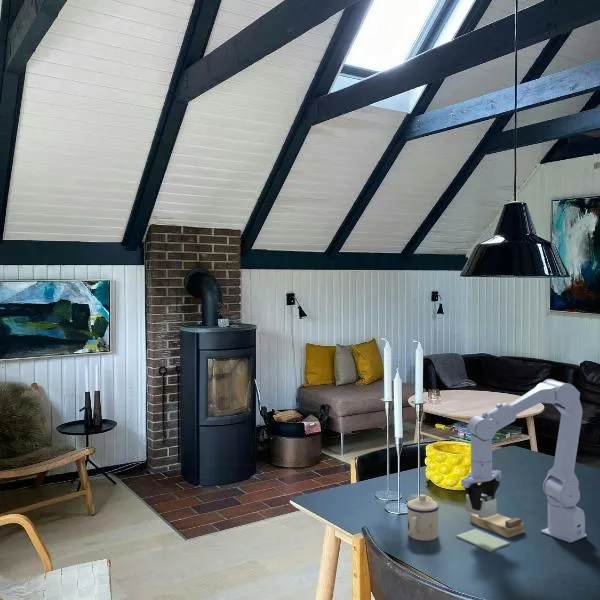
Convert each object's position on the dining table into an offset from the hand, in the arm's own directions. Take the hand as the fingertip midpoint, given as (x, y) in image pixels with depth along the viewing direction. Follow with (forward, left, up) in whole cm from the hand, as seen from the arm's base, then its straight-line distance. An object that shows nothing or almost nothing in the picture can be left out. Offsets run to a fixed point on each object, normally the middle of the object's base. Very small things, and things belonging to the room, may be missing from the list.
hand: (481, 507), depth 175 cm
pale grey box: (0, 0, -1) cm, 1 cm away
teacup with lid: (+12, +12, -10) cm, 19 cm away
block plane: (+4, -11, -9) cm, 15 cm away
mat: (0, 0, -9) cm, 9 cm away
